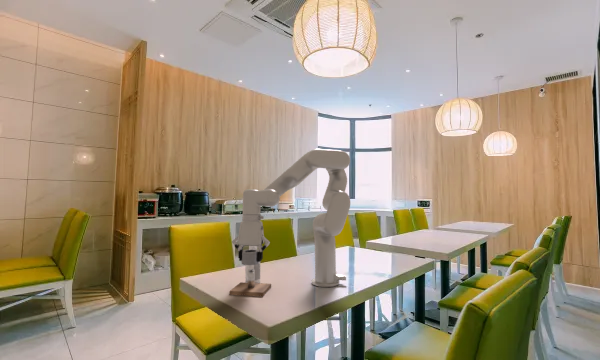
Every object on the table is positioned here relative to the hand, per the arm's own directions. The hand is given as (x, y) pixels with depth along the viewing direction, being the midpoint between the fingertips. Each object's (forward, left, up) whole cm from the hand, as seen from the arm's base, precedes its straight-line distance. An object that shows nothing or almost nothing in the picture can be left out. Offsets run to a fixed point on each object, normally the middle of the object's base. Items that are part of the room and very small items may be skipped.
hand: (250, 260), depth 118 cm
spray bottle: (+3, -11, -13) cm, 17 cm away
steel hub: (0, 0, -1) cm, 1 cm away
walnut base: (0, 0, -13) cm, 12 cm away
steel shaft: (0, 0, -11) cm, 11 cm away
